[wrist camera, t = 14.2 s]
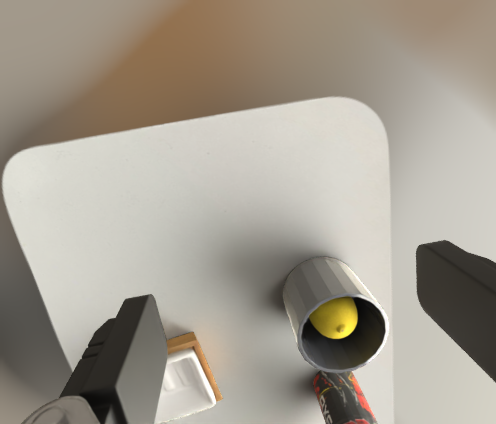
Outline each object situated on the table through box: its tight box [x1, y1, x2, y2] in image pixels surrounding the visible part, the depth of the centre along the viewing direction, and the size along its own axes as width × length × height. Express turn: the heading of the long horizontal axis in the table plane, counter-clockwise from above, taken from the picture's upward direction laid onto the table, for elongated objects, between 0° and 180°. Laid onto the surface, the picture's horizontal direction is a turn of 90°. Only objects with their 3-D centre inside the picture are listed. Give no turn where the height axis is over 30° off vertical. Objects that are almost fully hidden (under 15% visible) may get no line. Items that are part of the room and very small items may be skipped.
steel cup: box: [283, 257, 389, 373], centre depth 41 cm, size 10×10×9 cm
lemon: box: [309, 296, 358, 339], centre depth 41 cm, size 6×6×8 cm
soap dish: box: [154, 332, 223, 424], centre depth 44 cm, size 12×10×5 cm
